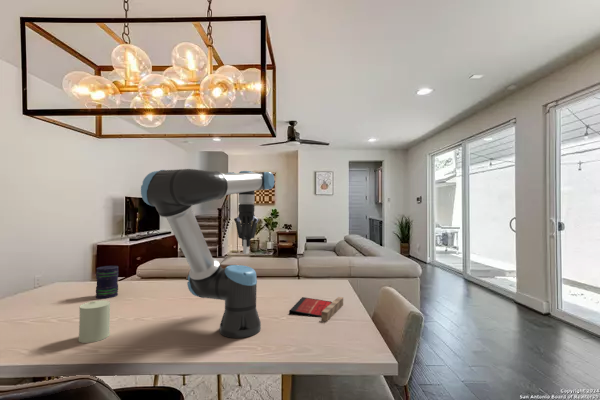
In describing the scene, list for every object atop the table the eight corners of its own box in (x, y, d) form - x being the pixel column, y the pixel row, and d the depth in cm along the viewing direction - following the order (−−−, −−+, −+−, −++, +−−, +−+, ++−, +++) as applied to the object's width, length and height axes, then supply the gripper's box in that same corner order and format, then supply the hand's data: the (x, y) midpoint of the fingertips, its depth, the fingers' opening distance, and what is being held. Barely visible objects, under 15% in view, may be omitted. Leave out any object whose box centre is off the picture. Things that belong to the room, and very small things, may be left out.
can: (104, 329, 113) (105, 297, 113) (113, 336, 107) (114, 302, 107) (74, 337, 105) (75, 303, 106) (83, 345, 100) (83, 309, 100)
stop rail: (327, 321, 122) (327, 312, 122) (321, 320, 123) (321, 311, 123) (343, 304, 143) (343, 297, 143) (338, 304, 144) (338, 296, 144)
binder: (289, 309, 130) (301, 296, 150) (288, 315, 130) (301, 301, 150) (325, 314, 126) (333, 300, 146) (325, 320, 126) (333, 305, 146)
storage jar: (104, 293, 161) (105, 265, 162) (122, 293, 161) (122, 265, 161) (90, 298, 151) (91, 269, 152) (109, 299, 151) (110, 269, 151)
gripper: (262, 203, 144) (262, 253, 143) (240, 204, 149) (239, 251, 149) (253, 203, 137) (253, 255, 136) (230, 203, 143) (230, 253, 142)
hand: (246, 253), depth 143 cm, fingers closed
